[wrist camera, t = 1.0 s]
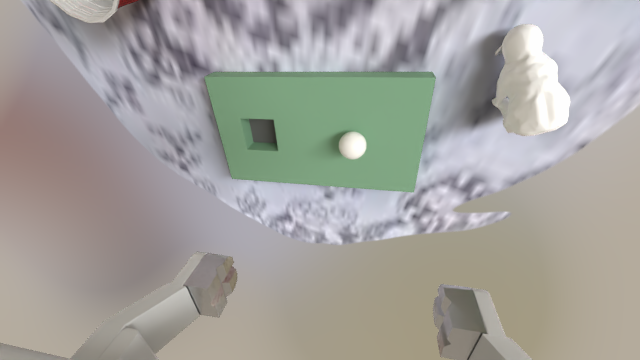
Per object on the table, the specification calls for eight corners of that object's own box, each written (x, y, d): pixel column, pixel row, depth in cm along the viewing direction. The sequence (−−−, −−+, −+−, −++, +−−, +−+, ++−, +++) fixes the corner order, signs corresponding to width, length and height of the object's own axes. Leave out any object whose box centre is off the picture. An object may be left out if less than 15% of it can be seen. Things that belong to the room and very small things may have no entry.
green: (214, 71, 42) (204, 76, 40) (432, 71, 36) (435, 77, 34) (239, 170, 52) (232, 178, 50) (412, 181, 47) (413, 192, 44)
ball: (340, 126, 40) (336, 138, 37) (367, 127, 39) (366, 139, 36) (340, 150, 42) (337, 163, 39) (366, 151, 42) (365, 165, 38)
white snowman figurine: (515, 147, 31) (503, 39, 27) (492, 124, 39) (479, 36, 34) (585, 131, 29) (584, 9, 24) (546, 110, 36) (540, 13, 32)
